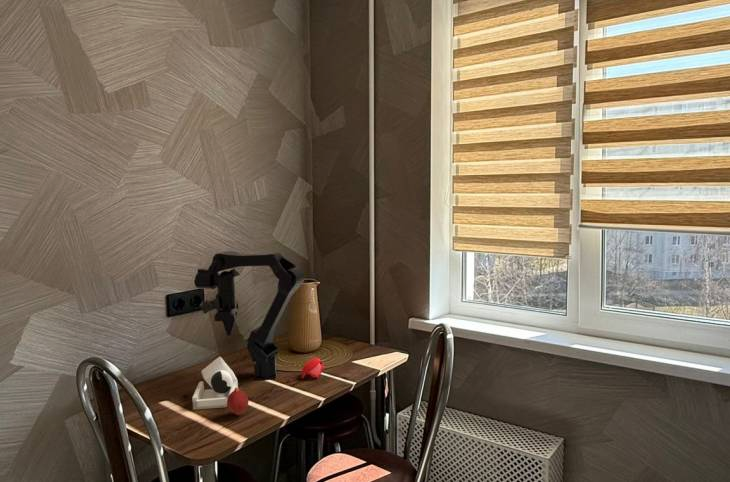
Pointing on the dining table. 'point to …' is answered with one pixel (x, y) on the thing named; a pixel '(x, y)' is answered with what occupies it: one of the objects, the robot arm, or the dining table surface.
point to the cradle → (210, 397)
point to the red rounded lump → (237, 401)
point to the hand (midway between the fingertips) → (228, 335)
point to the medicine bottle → (219, 376)
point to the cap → (313, 368)
